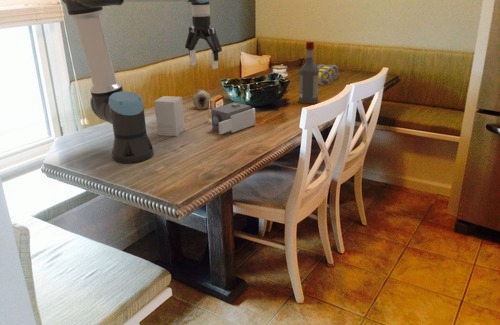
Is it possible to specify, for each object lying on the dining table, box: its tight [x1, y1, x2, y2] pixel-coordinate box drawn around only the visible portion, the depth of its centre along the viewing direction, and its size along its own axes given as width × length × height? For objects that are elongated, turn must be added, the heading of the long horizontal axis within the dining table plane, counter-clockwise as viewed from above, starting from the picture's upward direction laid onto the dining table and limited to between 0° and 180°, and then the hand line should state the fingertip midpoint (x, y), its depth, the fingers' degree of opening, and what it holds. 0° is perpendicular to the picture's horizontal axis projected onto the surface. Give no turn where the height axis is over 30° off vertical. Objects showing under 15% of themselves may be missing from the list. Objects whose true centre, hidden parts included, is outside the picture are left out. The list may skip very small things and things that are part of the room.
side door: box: [218, 107, 256, 135], centre depth 189 cm, size 21×1×7 cm, turn 137°
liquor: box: [298, 41, 319, 104], centre depth 226 cm, size 9×9×30 cm
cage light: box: [317, 63, 339, 86], centre depth 275 cm, size 15×8×30 cm
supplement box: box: [153, 95, 186, 137], centre depth 189 cm, size 9×9×15 cm
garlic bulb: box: [192, 89, 212, 111], centre depth 225 cm, size 9×8×10 cm
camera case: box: [210, 101, 252, 134], centre depth 194 cm, size 15×10×10 cm
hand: (204, 66), depth 194 cm, fingers open, 13 cm apart
